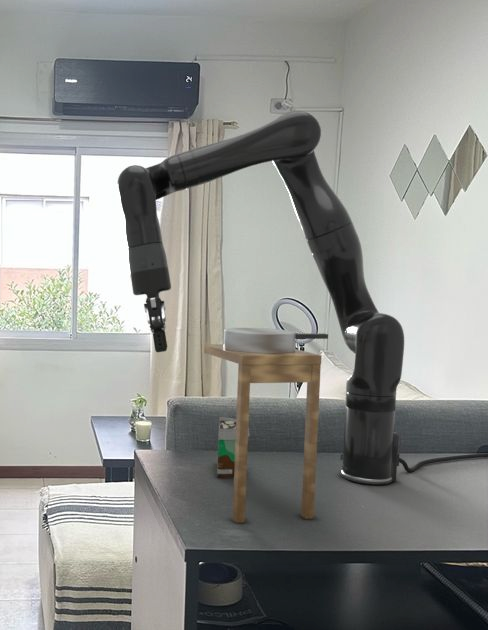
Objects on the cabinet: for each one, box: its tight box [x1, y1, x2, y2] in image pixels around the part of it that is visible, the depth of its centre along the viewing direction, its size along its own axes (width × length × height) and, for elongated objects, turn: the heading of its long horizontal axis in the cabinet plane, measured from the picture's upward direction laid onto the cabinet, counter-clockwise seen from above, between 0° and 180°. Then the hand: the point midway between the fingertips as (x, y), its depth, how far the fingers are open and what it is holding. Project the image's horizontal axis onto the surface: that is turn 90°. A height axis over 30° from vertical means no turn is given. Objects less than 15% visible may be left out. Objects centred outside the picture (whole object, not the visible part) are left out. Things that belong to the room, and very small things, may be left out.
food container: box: [216, 416, 251, 479], centre depth 151 cm, size 12×6×10 cm, turn 168°
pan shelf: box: [203, 327, 329, 524], centre depth 130 cm, size 20×16×31 cm
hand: (161, 350), depth 146 cm, fingers open, 8 cm apart
